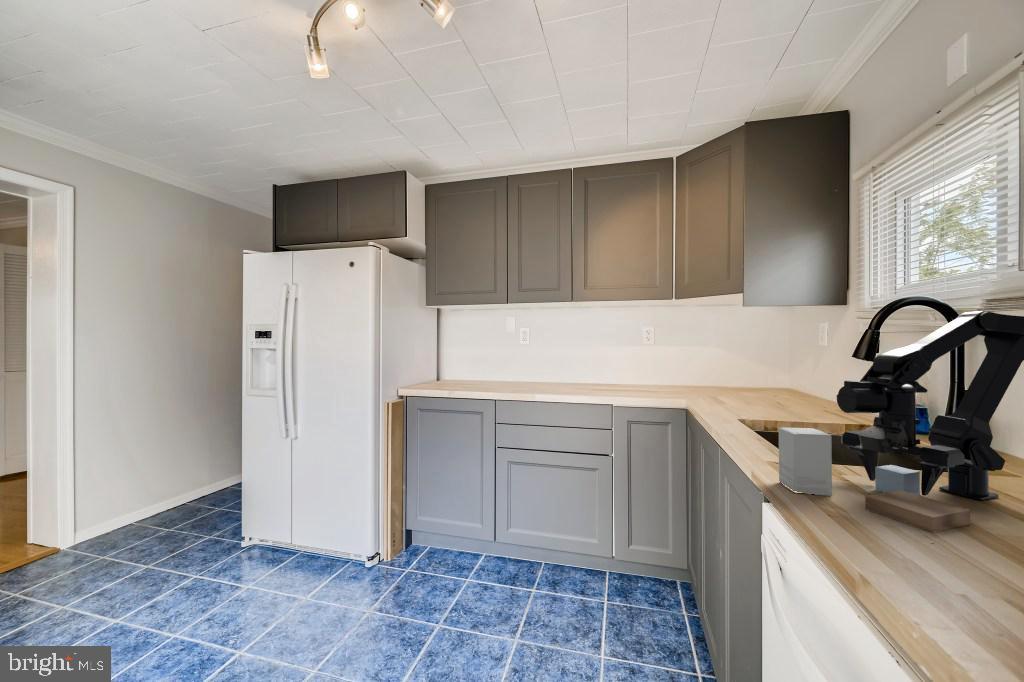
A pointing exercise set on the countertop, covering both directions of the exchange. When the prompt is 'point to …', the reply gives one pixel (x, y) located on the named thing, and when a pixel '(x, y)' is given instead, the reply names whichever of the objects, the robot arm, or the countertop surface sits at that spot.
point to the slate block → (897, 479)
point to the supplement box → (805, 460)
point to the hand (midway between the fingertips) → (897, 487)
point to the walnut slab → (918, 510)
